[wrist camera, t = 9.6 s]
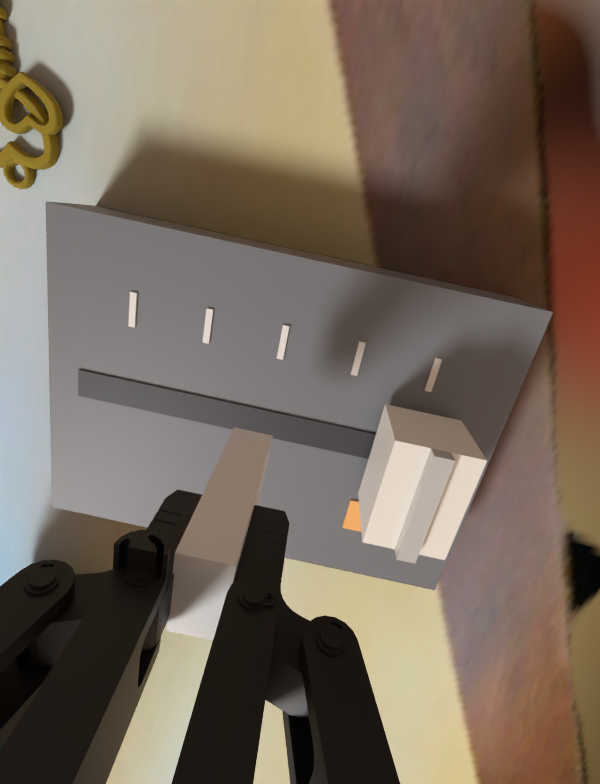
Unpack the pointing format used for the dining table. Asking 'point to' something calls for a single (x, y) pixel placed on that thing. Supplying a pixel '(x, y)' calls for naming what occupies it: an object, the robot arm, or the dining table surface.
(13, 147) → the key
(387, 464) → the slider cap
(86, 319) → the dimmer console
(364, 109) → the dining table surface
